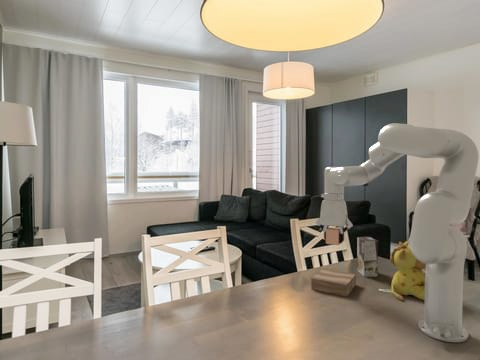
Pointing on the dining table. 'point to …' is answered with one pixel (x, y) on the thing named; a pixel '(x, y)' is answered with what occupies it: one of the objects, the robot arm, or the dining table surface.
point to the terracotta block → (332, 235)
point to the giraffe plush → (407, 273)
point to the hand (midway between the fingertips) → (333, 241)
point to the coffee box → (367, 256)
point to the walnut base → (333, 282)
